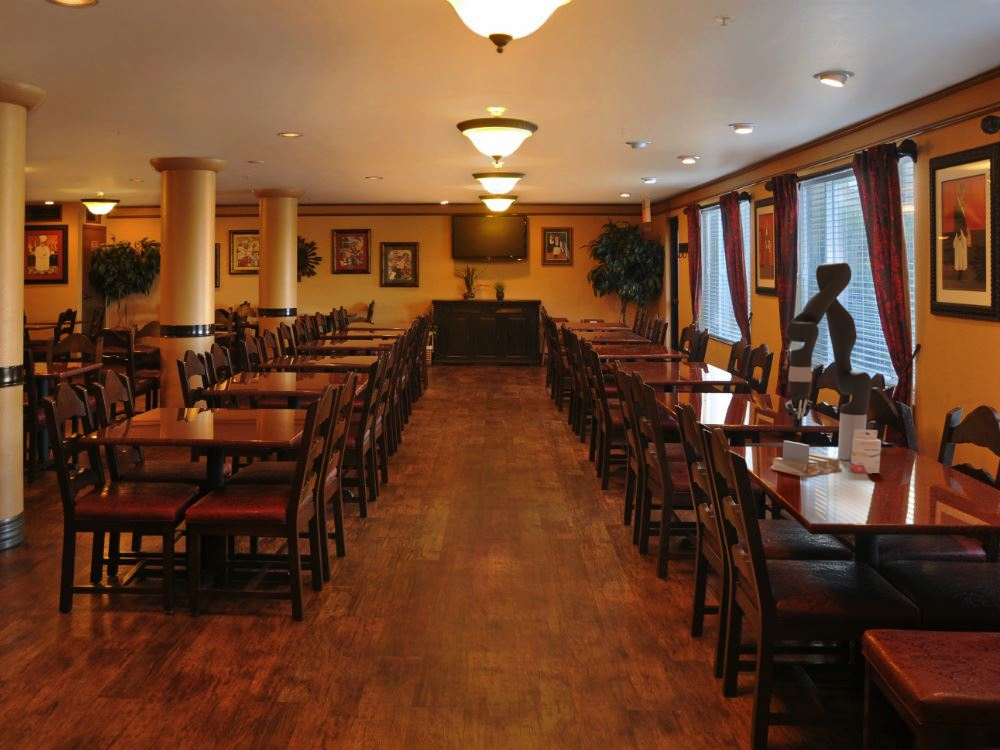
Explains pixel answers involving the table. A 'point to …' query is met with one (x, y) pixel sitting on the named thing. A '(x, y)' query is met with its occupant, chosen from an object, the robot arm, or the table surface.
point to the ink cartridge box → (865, 452)
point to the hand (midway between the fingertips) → (797, 429)
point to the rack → (816, 465)
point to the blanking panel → (796, 452)
